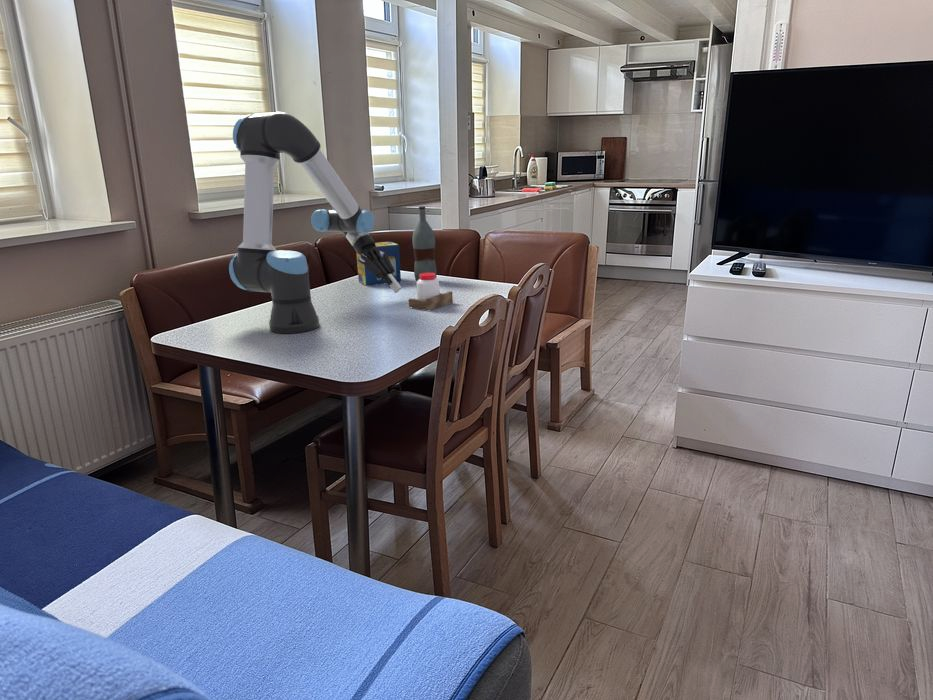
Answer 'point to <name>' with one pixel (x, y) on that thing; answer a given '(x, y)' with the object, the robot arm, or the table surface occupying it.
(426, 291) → the pill bottle
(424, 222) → the grey-green bottle
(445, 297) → the dock
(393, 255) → the protein box
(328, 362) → the table surface
